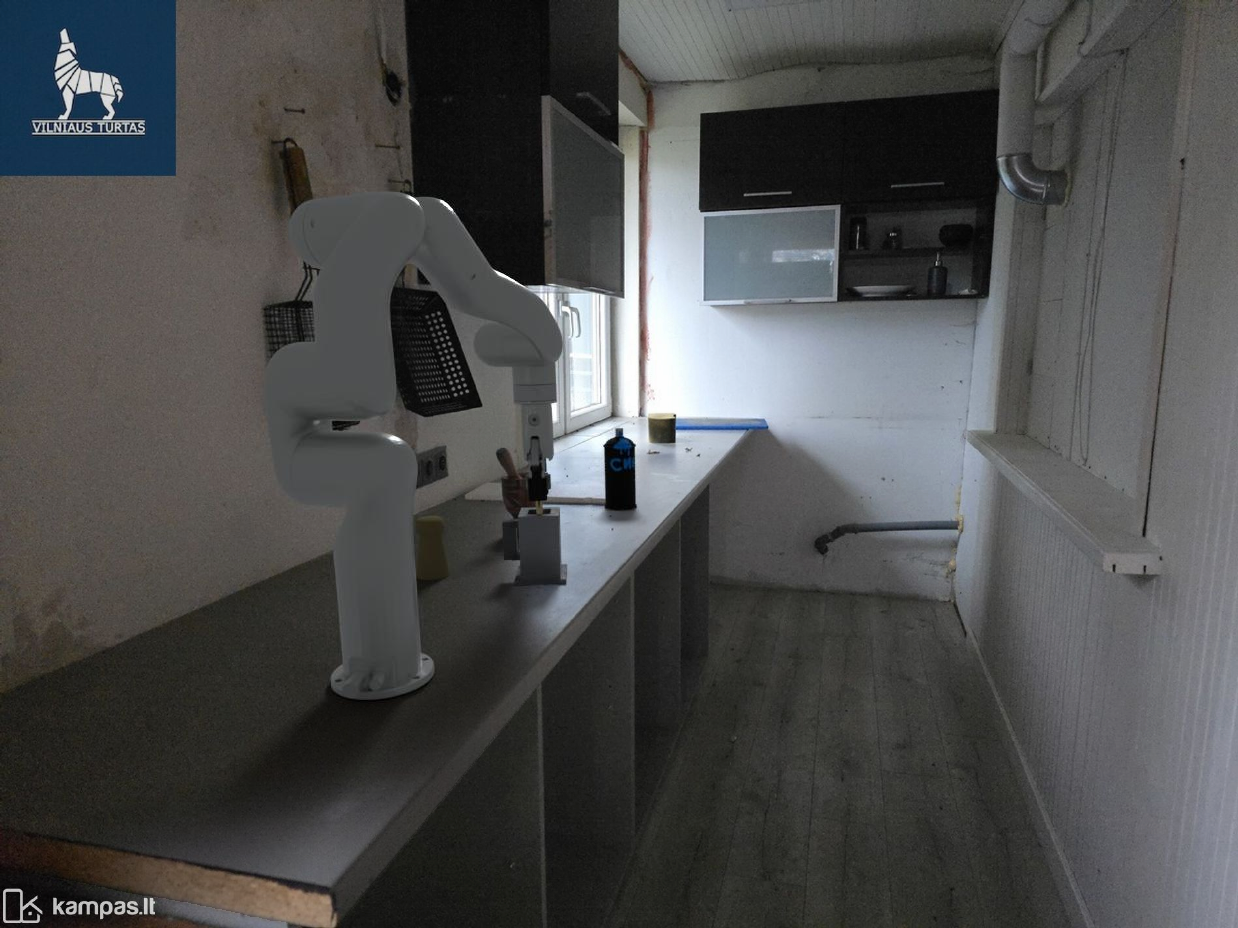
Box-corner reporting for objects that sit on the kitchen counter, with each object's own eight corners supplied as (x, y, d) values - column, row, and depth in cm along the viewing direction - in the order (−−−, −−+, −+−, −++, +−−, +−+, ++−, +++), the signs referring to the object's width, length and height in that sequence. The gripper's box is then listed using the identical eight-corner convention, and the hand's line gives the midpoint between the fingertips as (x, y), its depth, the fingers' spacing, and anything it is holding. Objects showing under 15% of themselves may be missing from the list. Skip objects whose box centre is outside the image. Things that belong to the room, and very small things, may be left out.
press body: (566, 583, 133) (564, 516, 131) (502, 585, 132) (499, 518, 130) (567, 568, 142) (565, 505, 140) (507, 570, 141) (504, 507, 139)
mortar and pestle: (534, 542, 160) (531, 448, 157) (494, 541, 161) (490, 448, 158) (546, 528, 172) (543, 441, 168) (509, 528, 173) (505, 441, 169)
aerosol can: (599, 505, 194) (597, 427, 191) (628, 502, 197) (627, 425, 194) (612, 511, 187) (610, 431, 183) (642, 508, 190) (641, 428, 187)
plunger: (552, 558, 134) (550, 477, 132) (527, 559, 134) (524, 477, 132) (553, 551, 139) (551, 472, 136) (529, 552, 139) (526, 473, 136)
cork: (441, 581, 136) (437, 521, 134) (410, 579, 137) (406, 520, 135) (455, 570, 142) (452, 513, 140) (425, 569, 143) (421, 512, 141)
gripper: (555, 397, 124) (558, 507, 127) (558, 390, 140) (561, 487, 143) (508, 398, 123) (513, 508, 126) (517, 391, 140) (521, 488, 143)
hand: (538, 496), depth 135 cm, fingers closed on plunger, 4 cm apart
